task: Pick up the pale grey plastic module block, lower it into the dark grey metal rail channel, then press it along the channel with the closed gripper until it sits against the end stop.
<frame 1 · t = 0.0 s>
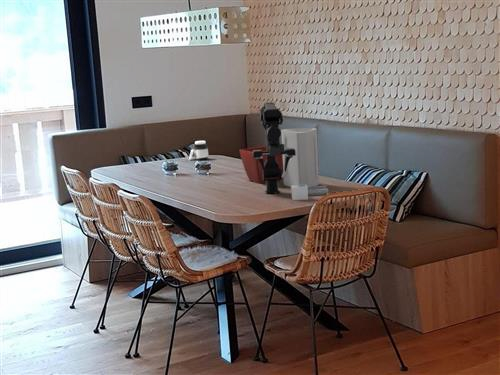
hand: (274, 172, 343), 15 cm above the table, fingers open, 9 cm apart
module: (299, 198, 356), on the table
rail: (311, 193, 366), on the table
paper bag: (304, 186, 387), on the table
plant pot: (264, 181, 407), on the table
spread jar: (198, 160, 494), on the table
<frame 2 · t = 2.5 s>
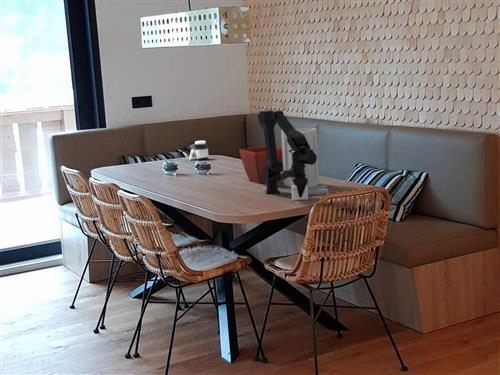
hand: (299, 196, 355), 1 cm above the table, fingers closed on module, 5 cm apart
module: (299, 198, 356), on the table, touching gripper
everything else where it was.
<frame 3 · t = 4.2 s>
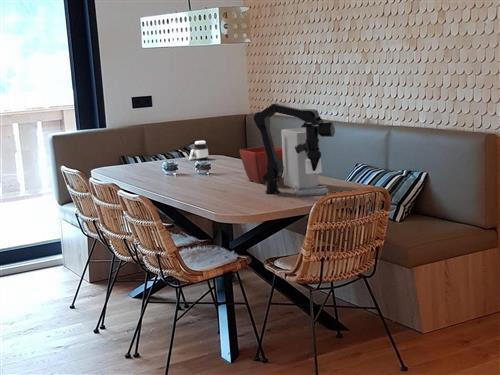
hand: (313, 169, 362), 12 cm above the table, fingers closed on module, 5 cm apart
module: (313, 172, 362), point 10 cm above the table, touching gripper
everything else where it was.
when the fingers open (3 cm above the table, at t = 6.2 s): module drops 1 cm, resting on rail.
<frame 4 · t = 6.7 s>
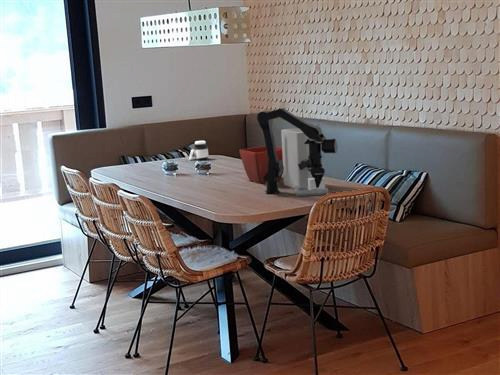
hand: (316, 185, 365), 3 cm above the table, fingers open, 9 cm apart
module: (316, 191, 366), point 1 cm above the table, touching rail
everything else where it was.
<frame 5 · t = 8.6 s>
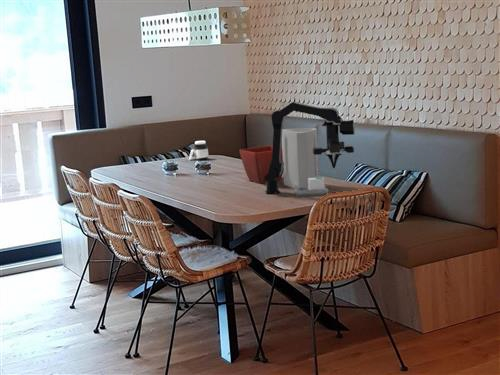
hand: (333, 168, 364), 12 cm above the table, fingers closed
nothing on the table moved.
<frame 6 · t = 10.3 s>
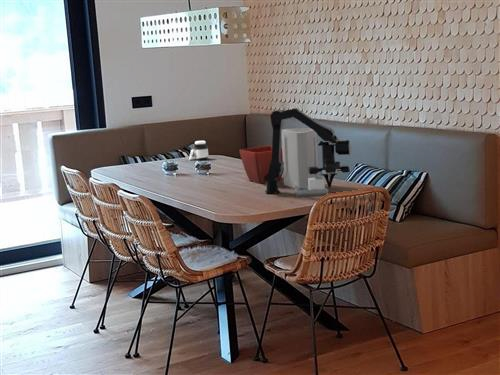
hand: (329, 187, 366), 2 cm above the table, fingers closed
module: (316, 191, 366), point 1 cm above the table, touching gripper, rail
everything else where it was.
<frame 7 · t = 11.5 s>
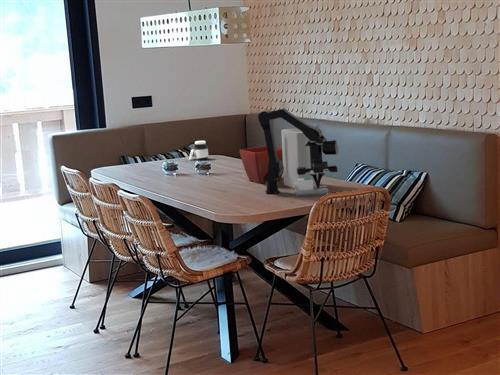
hand: (317, 187, 366), 3 cm above the table, fingers closed
module: (305, 191, 366), point 1 cm above the table, touching gripper, rail
everything else where it was.
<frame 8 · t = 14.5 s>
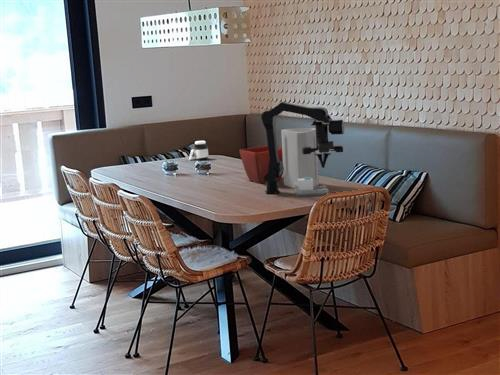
hand: (323, 167, 364), 12 cm above the table, fingers closed
module: (305, 191, 366), point 1 cm above the table, touching rail
everything else where it was.
at the end: module 0.5 cm from the target spot on the rail, point 1.0 cm above the rail's base; module tilted 0°; the gripper is holding nothing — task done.
